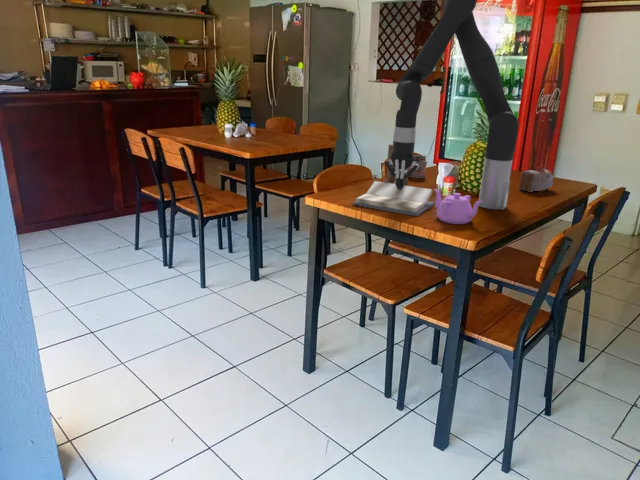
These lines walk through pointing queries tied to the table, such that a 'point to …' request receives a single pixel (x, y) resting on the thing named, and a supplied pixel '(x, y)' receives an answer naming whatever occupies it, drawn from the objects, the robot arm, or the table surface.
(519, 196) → the table surface
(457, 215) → the teapot
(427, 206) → the underlay mat
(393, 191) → the loose plank
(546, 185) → the food item
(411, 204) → the white flat slab
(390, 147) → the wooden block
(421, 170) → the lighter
